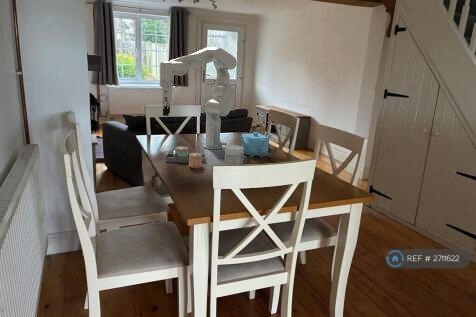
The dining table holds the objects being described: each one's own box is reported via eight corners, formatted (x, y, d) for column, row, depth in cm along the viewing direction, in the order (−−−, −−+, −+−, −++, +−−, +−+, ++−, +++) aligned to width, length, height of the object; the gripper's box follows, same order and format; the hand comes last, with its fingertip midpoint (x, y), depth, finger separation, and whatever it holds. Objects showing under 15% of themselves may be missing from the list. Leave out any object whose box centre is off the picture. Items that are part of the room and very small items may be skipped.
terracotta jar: (201, 165, 197) (202, 153, 195) (202, 169, 190) (202, 156, 188) (188, 165, 195) (188, 152, 194) (188, 169, 189) (189, 156, 187)
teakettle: (245, 150, 235) (246, 128, 231) (272, 154, 228) (274, 131, 224) (235, 156, 218) (236, 133, 214) (264, 161, 211) (265, 137, 207)
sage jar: (187, 158, 207) (188, 146, 205) (188, 161, 200) (188, 149, 198) (175, 158, 206) (175, 146, 204) (175, 161, 199) (175, 149, 197)
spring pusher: (175, 157, 205) (175, 150, 204) (174, 161, 199) (175, 153, 198) (173, 157, 205) (173, 150, 204) (173, 161, 199) (173, 153, 197)
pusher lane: (204, 158, 209) (204, 151, 208) (205, 163, 200) (205, 155, 199) (166, 158, 206) (166, 150, 205) (166, 162, 197) (165, 155, 196)
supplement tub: (244, 177, 180) (246, 149, 176) (226, 177, 178) (227, 149, 174) (240, 171, 189) (241, 144, 185) (222, 172, 187) (223, 144, 183)
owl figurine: (243, 143, 254) (244, 120, 249) (257, 143, 258) (259, 119, 254) (254, 149, 238) (255, 124, 233) (269, 148, 243) (271, 124, 238)
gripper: (172, 85, 192) (172, 117, 197) (174, 83, 209) (174, 112, 213) (158, 84, 192) (158, 116, 196) (161, 82, 208) (161, 112, 213)
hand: (166, 114), depth 205 cm, fingers open, 9 cm apart
